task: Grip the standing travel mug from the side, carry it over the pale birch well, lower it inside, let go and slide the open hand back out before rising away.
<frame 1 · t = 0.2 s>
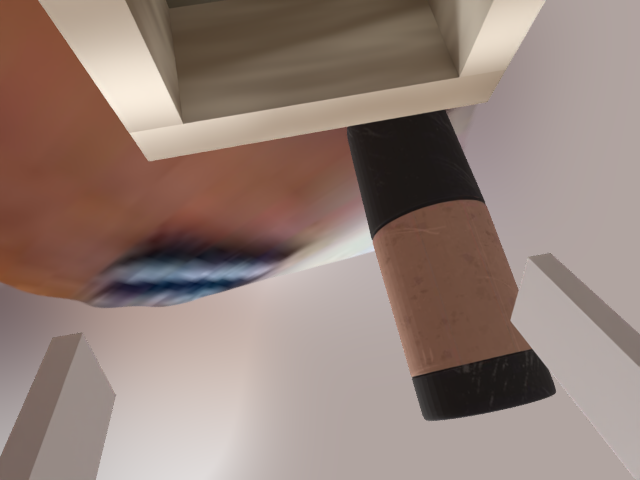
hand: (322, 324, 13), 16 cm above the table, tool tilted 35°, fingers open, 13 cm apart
travel mug: (392, 118, 31), on the table
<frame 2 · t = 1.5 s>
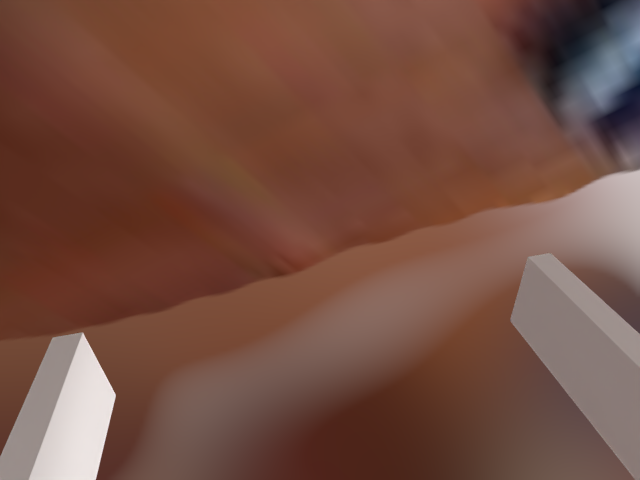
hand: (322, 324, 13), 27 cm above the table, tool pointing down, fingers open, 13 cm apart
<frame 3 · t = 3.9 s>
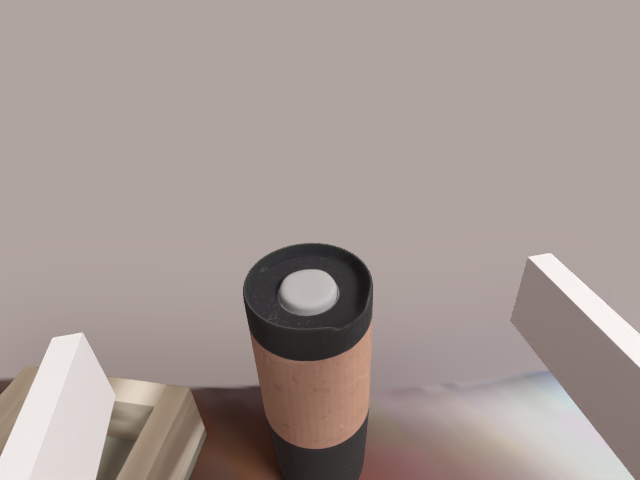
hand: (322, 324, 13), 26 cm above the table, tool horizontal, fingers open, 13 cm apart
travel mug: (321, 458, 36), on the table
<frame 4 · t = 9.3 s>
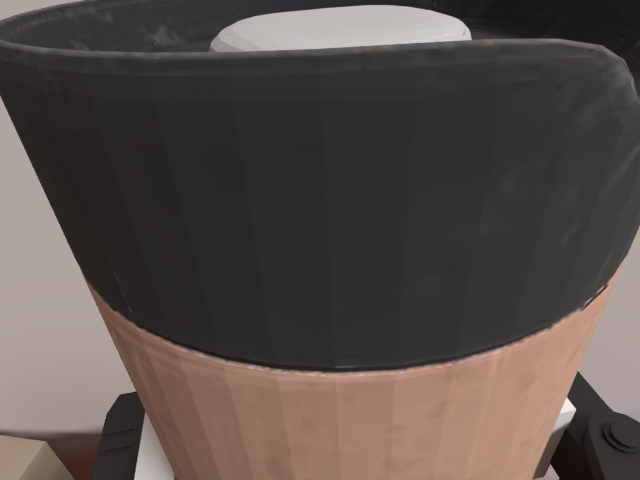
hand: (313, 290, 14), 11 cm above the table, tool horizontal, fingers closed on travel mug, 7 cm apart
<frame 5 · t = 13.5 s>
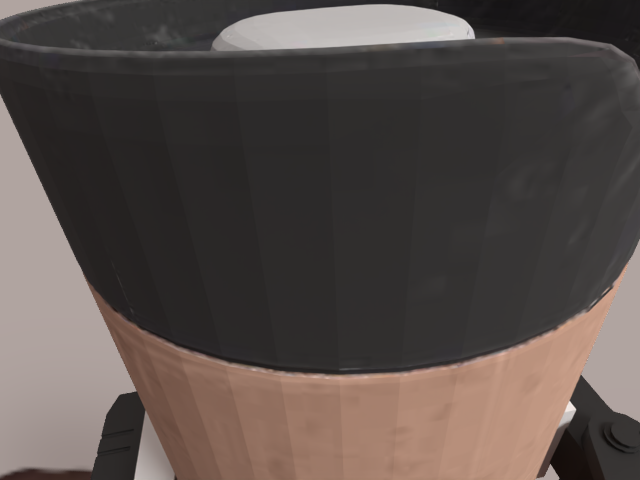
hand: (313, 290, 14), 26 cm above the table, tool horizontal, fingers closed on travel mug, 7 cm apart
when the fingers open (13 cm above the table, at t = 17.6 s): travel mug drops 1 cm, resting on well.
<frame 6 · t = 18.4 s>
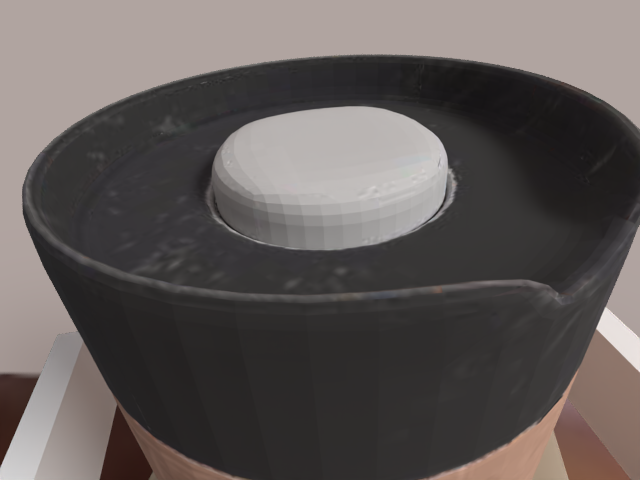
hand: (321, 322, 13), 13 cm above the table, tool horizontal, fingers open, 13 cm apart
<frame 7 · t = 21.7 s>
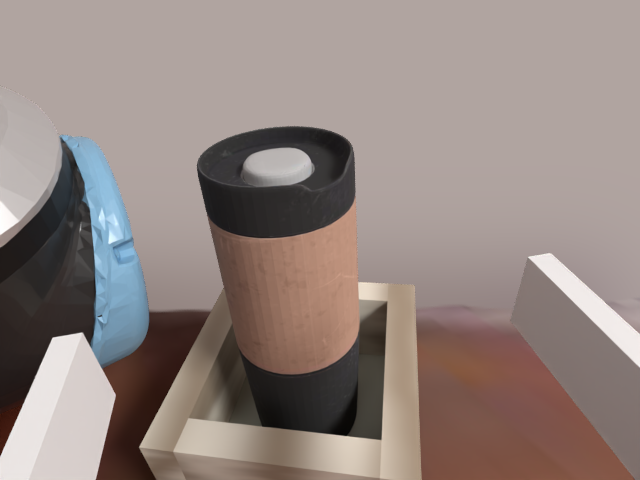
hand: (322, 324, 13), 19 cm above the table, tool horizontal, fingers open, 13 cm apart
travel mug: (308, 410, 31), point 1 cm above the table, touching well
well: (308, 416, 32), on the table
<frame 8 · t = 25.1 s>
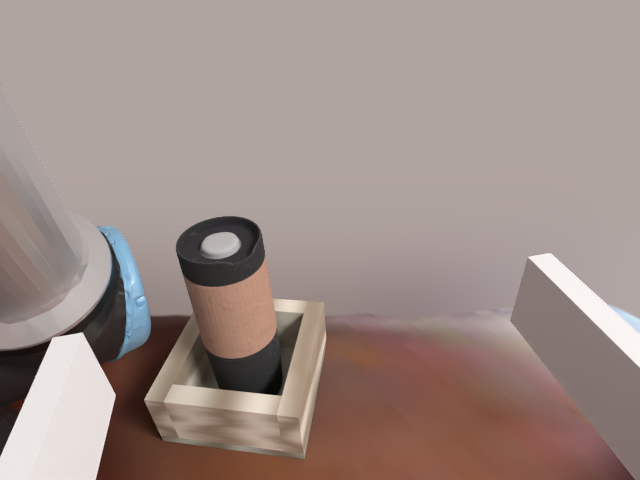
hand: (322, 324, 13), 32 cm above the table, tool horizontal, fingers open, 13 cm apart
travel mug: (252, 383, 49), point 1 cm above the table, touching well
well: (252, 387, 49), on the table
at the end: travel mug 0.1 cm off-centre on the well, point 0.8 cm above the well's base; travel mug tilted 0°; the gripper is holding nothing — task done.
